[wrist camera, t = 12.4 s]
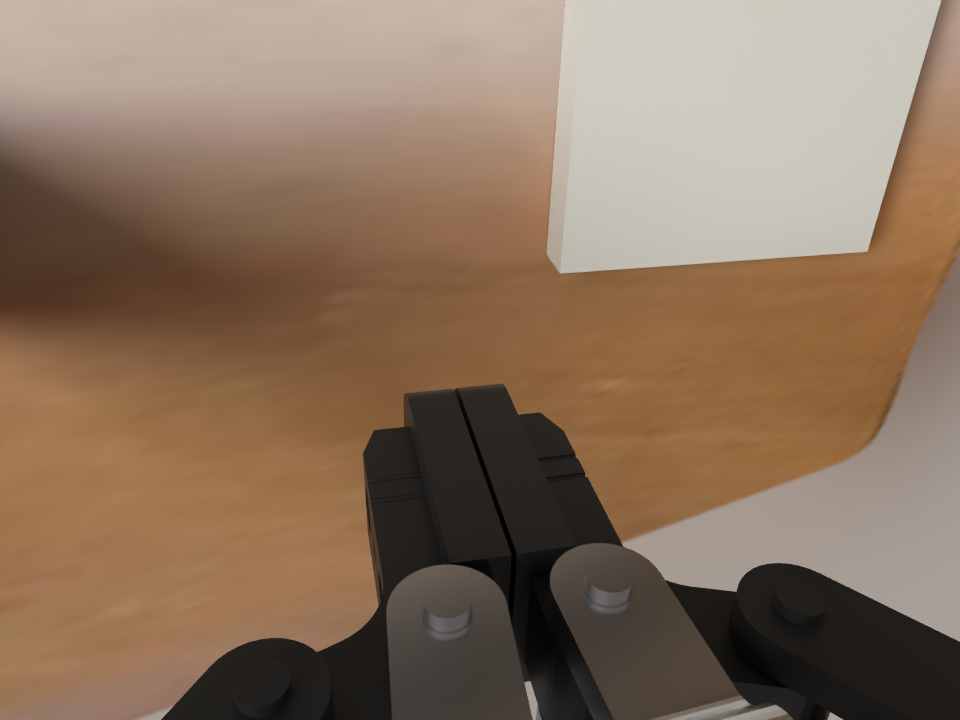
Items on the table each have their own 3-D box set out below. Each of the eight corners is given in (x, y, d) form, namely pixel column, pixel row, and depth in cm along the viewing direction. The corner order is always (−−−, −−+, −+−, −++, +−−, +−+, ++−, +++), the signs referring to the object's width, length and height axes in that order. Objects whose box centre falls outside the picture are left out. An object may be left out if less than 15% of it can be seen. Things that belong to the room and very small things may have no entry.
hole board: (841, 234, 48) (867, 251, 46) (546, 254, 44) (560, 273, 42) (982, -284, 35) (1027, -293, 33) (588, -314, 32) (611, -327, 30)
